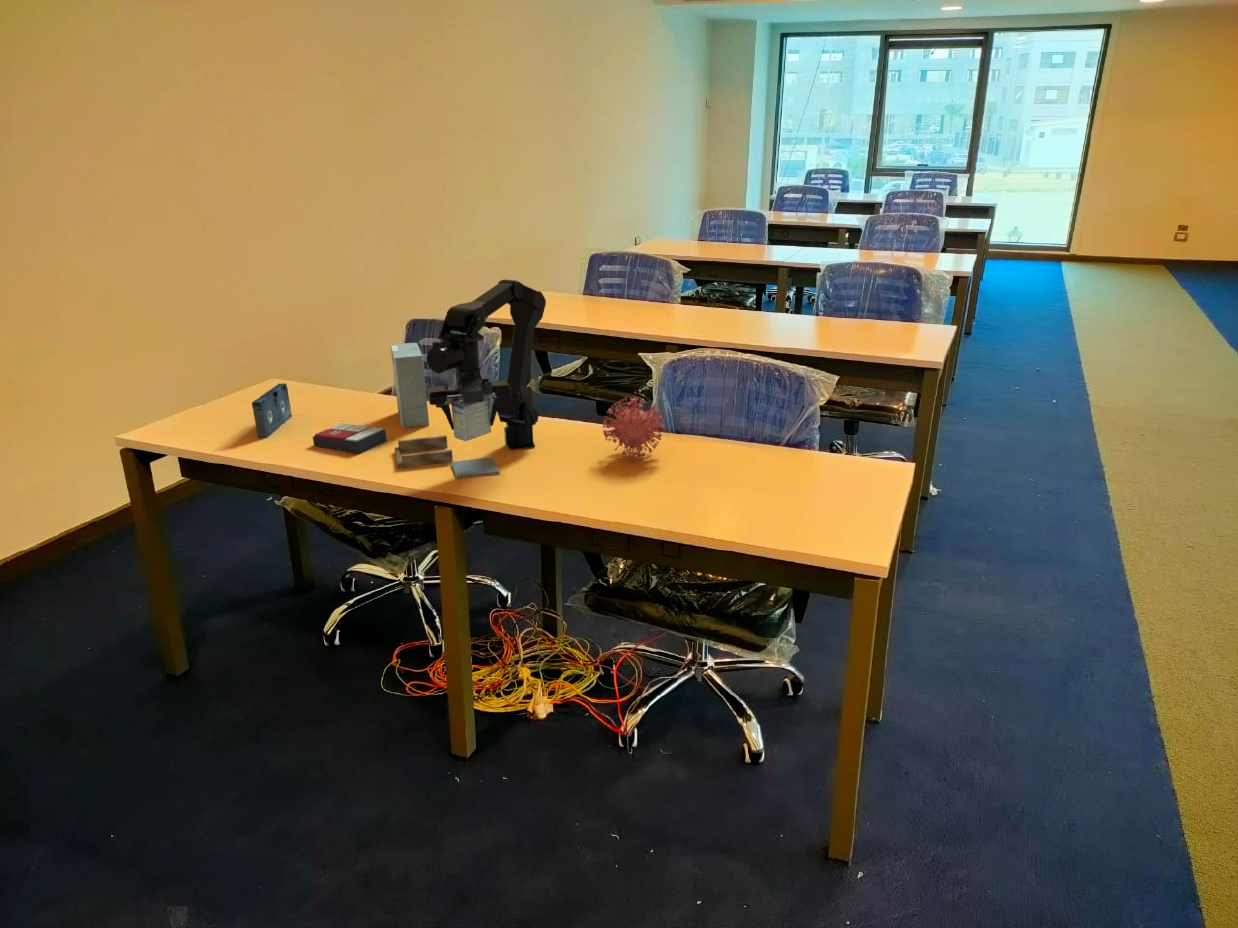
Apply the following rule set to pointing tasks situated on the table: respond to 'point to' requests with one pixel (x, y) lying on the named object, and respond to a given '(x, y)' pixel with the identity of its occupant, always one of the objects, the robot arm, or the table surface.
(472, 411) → the medicine box
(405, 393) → the hard drive box
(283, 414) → the vhs cassette tape
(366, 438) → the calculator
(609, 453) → the table surface
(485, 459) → the rubber mat
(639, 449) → the virus model
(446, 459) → the wooden rack
